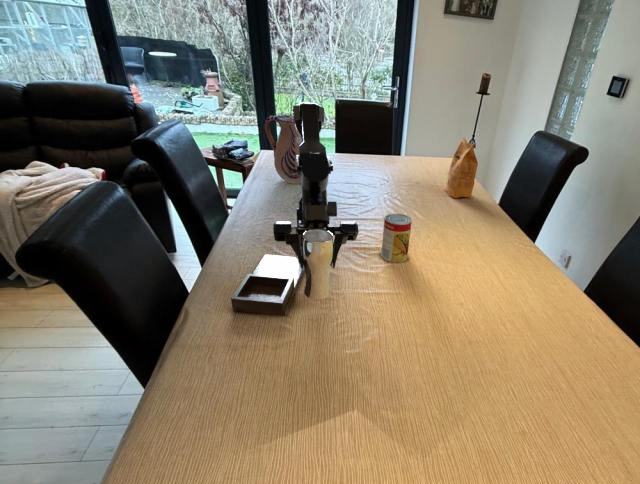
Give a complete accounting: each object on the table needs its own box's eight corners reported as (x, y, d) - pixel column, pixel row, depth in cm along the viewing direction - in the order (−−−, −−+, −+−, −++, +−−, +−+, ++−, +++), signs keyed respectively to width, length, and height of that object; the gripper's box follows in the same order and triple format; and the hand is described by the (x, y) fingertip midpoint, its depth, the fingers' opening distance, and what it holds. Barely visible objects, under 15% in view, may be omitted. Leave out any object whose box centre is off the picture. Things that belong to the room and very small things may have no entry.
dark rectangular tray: (265, 259, 117) (264, 246, 115) (307, 262, 117) (307, 250, 115) (231, 313, 94) (229, 298, 92) (284, 318, 94) (283, 303, 92)
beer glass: (336, 289, 100) (339, 233, 92) (323, 304, 95) (325, 245, 86) (310, 281, 102) (311, 225, 93) (296, 295, 96) (295, 237, 88)
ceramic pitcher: (314, 189, 169) (313, 123, 155) (262, 185, 168) (256, 118, 154) (320, 176, 183) (320, 115, 170) (272, 172, 183) (268, 111, 169)
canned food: (412, 257, 125) (417, 219, 119) (395, 265, 120) (399, 226, 114) (393, 248, 129) (397, 211, 123) (375, 255, 124) (378, 217, 118)
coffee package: (463, 189, 185) (473, 137, 173) (473, 199, 175) (484, 145, 163) (442, 189, 183) (450, 136, 171) (451, 199, 173) (460, 144, 161)
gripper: (270, 185, 86) (272, 258, 83) (359, 187, 90) (364, 256, 87) (273, 207, 97) (275, 272, 94) (353, 208, 101) (357, 270, 98)
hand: (317, 267), depth 93 cm, fingers closed on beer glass, 7 cm apart
